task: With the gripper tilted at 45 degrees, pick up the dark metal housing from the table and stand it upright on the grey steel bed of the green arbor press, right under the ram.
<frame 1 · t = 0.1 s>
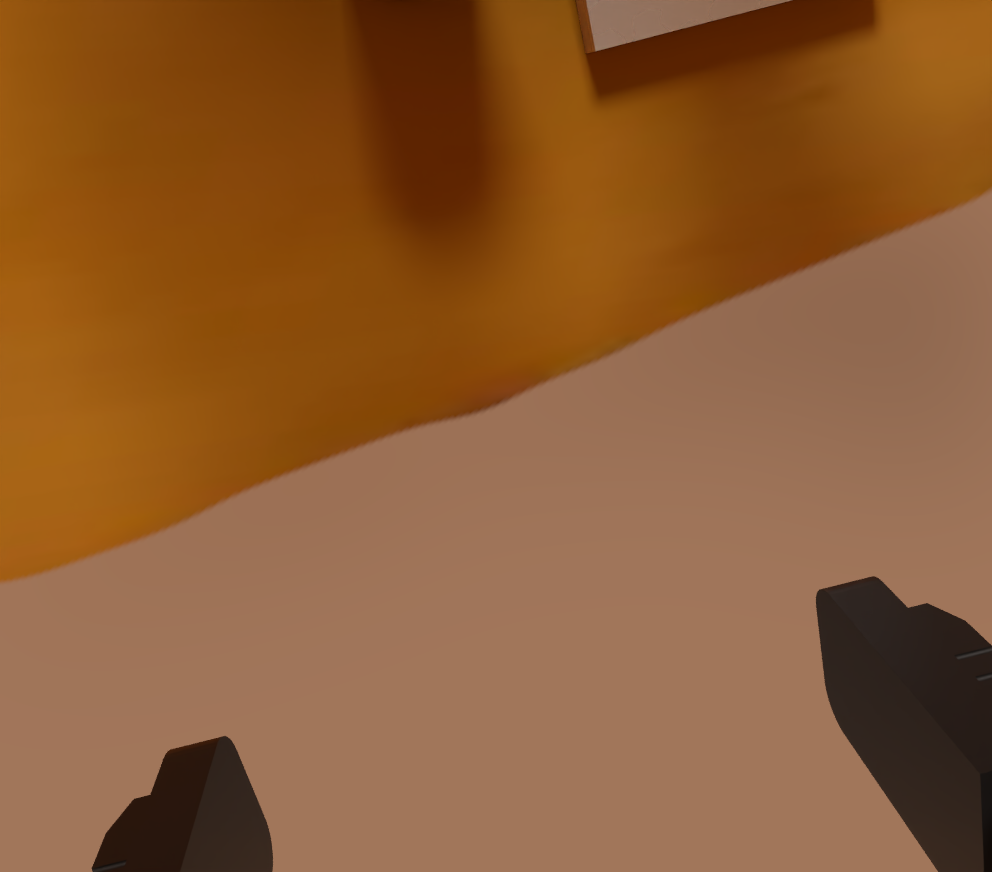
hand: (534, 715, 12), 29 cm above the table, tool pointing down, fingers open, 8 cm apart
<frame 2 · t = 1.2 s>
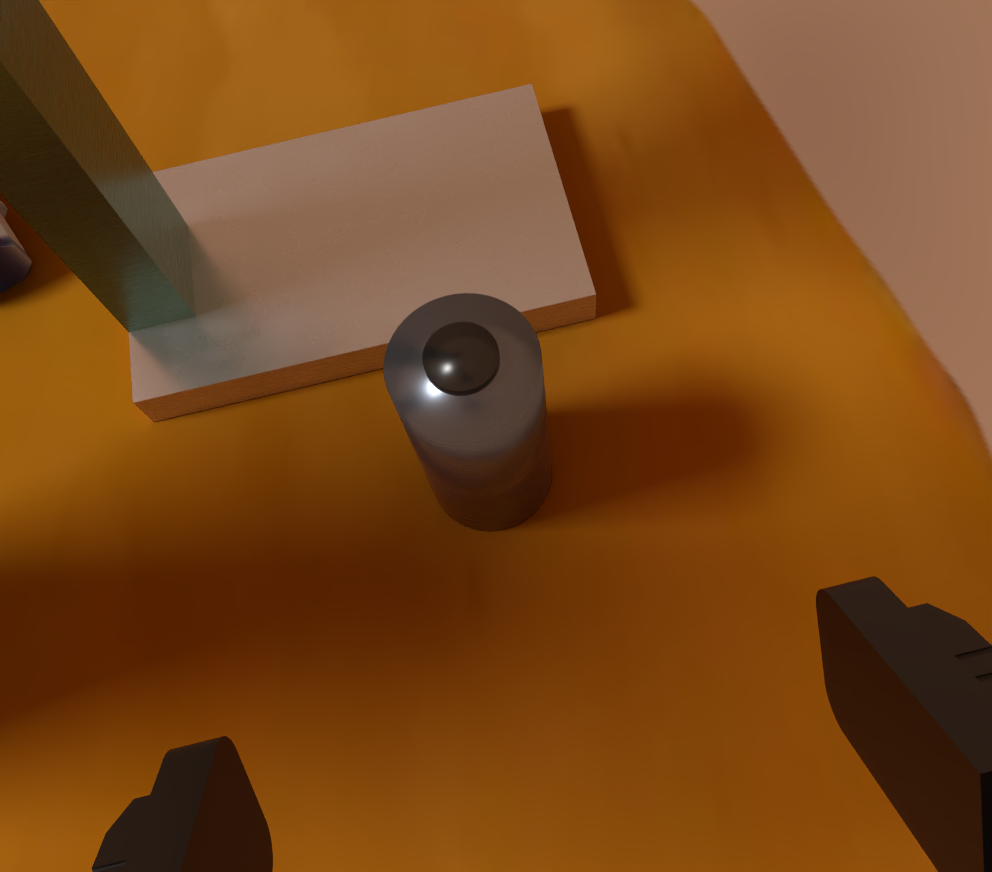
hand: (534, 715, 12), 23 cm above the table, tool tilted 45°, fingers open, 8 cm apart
press: (417, 244, 43), on the table
housing: (491, 473, 38), on the table
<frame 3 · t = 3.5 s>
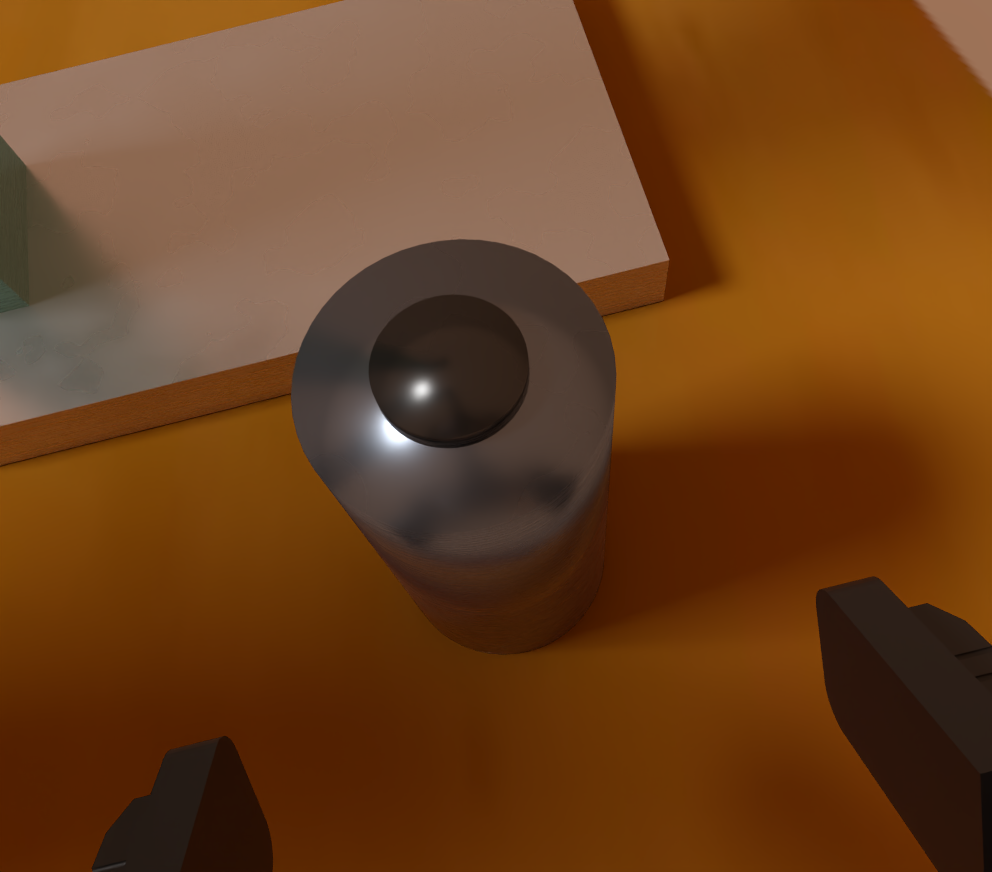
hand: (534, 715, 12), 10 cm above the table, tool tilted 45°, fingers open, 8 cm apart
press: (382, 193, 28), on the table
housing: (504, 554, 23), on the table
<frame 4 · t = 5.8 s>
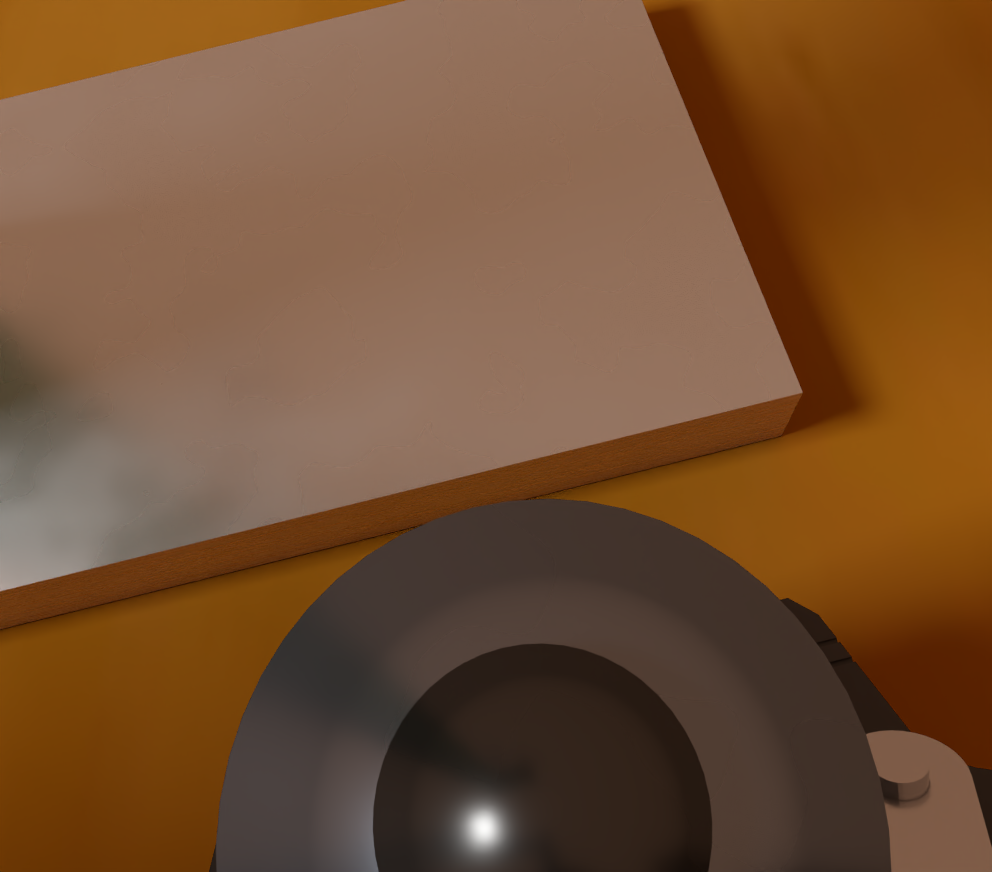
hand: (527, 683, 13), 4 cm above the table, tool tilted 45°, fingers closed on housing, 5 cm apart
press: (392, 275, 21), on the table
housing: (568, 822, 16), on the table, touching gripper
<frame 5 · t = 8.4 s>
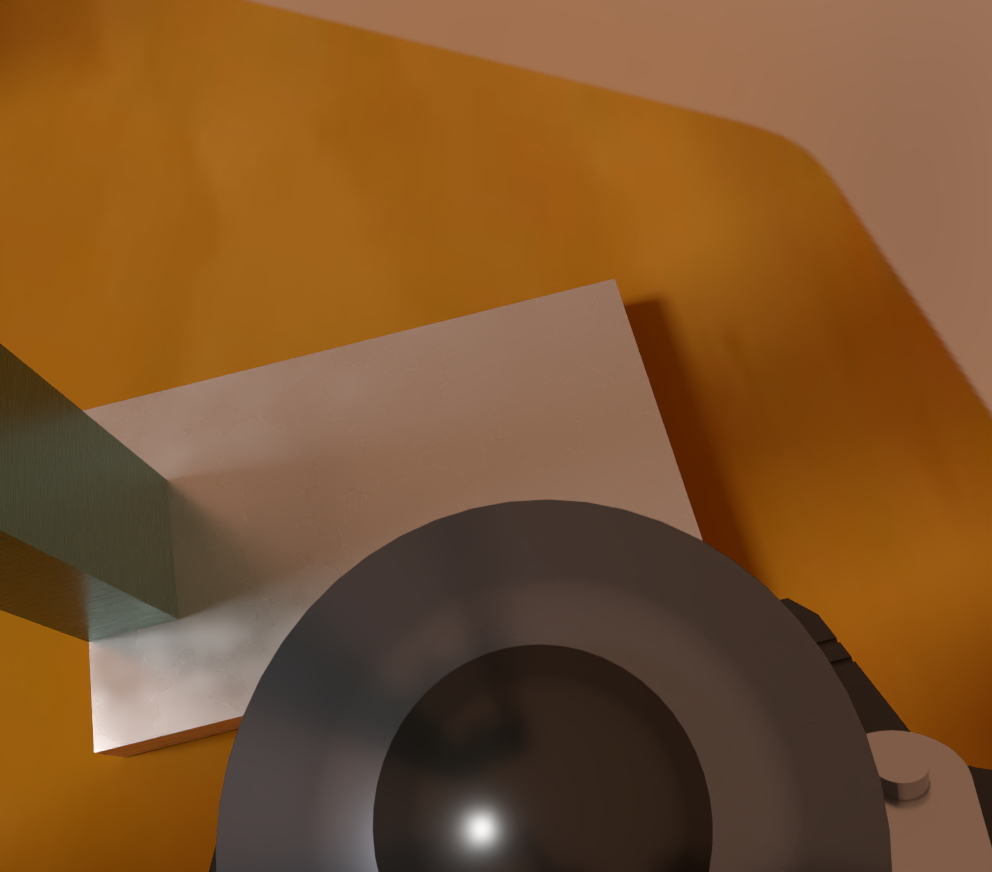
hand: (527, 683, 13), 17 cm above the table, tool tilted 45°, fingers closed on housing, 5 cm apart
press: (469, 494, 33), on the table
housing: (568, 822, 16), point 13 cm above the table, touching gripper
when the fingers open (8 cm above the table, at t = 11.4 s): housing drops 1 cm, resting on press.
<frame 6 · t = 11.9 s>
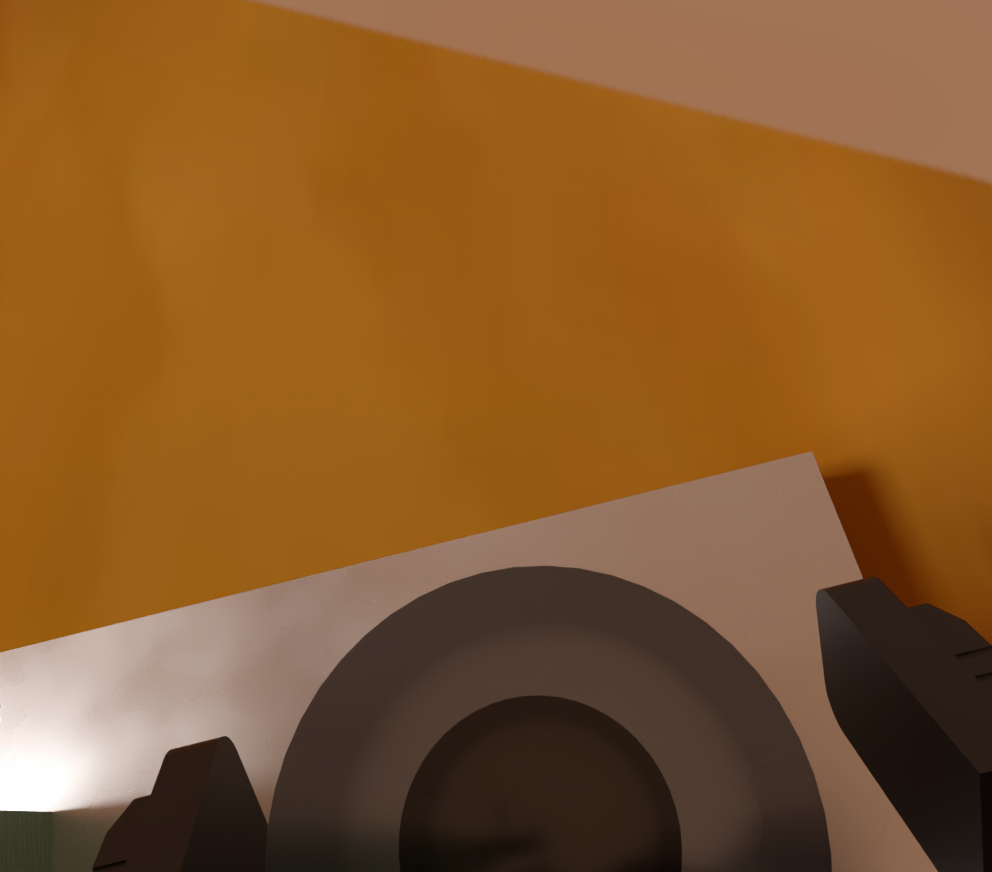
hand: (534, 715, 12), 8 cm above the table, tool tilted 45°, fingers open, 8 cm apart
press: (570, 823, 19), on the table
housing: (565, 831, 17), point 2 cm above the table, touching press
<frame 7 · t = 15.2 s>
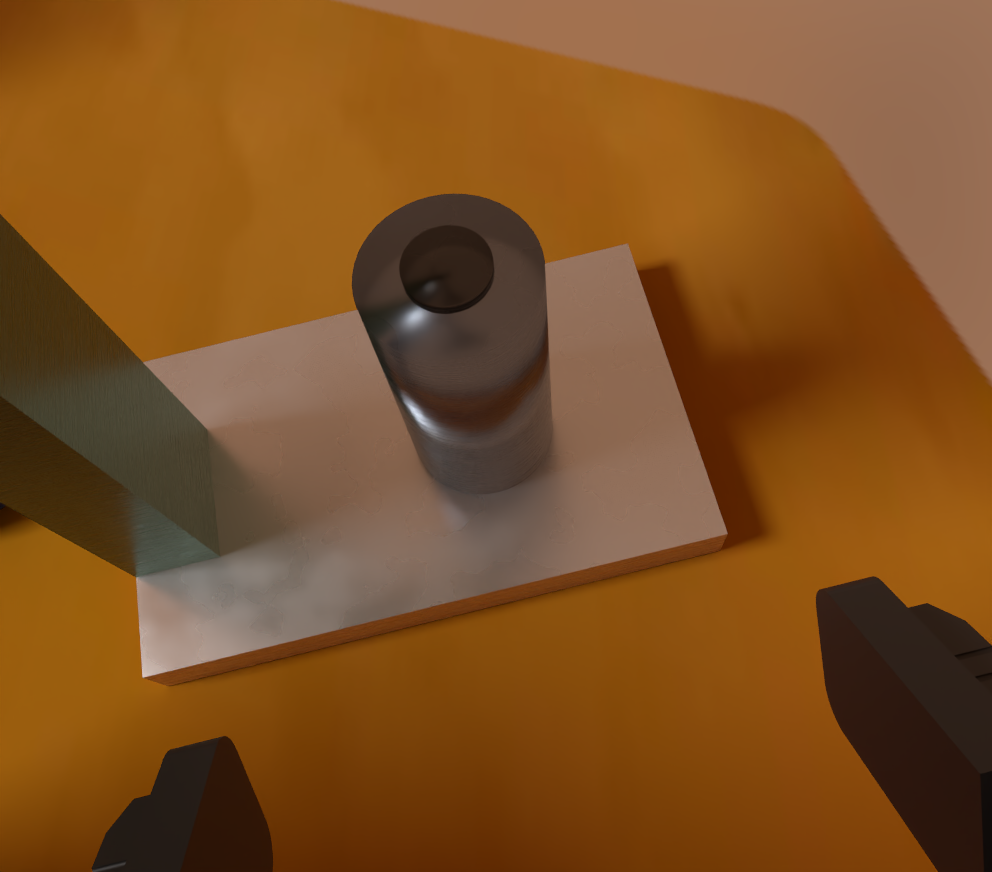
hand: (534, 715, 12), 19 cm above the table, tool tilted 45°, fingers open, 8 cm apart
press: (490, 445, 35), on the table
housing: (482, 428, 33), point 2 cm above the table, touching press
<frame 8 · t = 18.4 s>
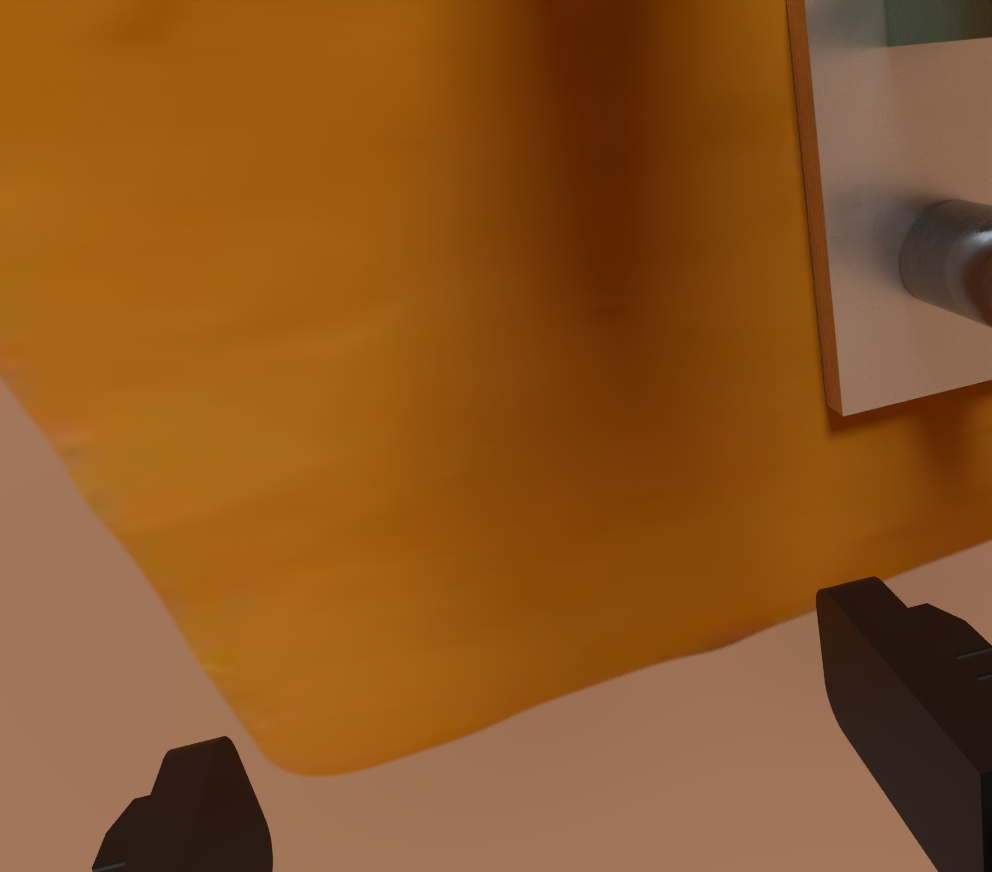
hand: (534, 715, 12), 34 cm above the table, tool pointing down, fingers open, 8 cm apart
press: (929, 247, 46), on the table
housing: (949, 253, 44), point 2 cm above the table, touching press
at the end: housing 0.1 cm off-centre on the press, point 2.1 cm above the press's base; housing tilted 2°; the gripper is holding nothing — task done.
